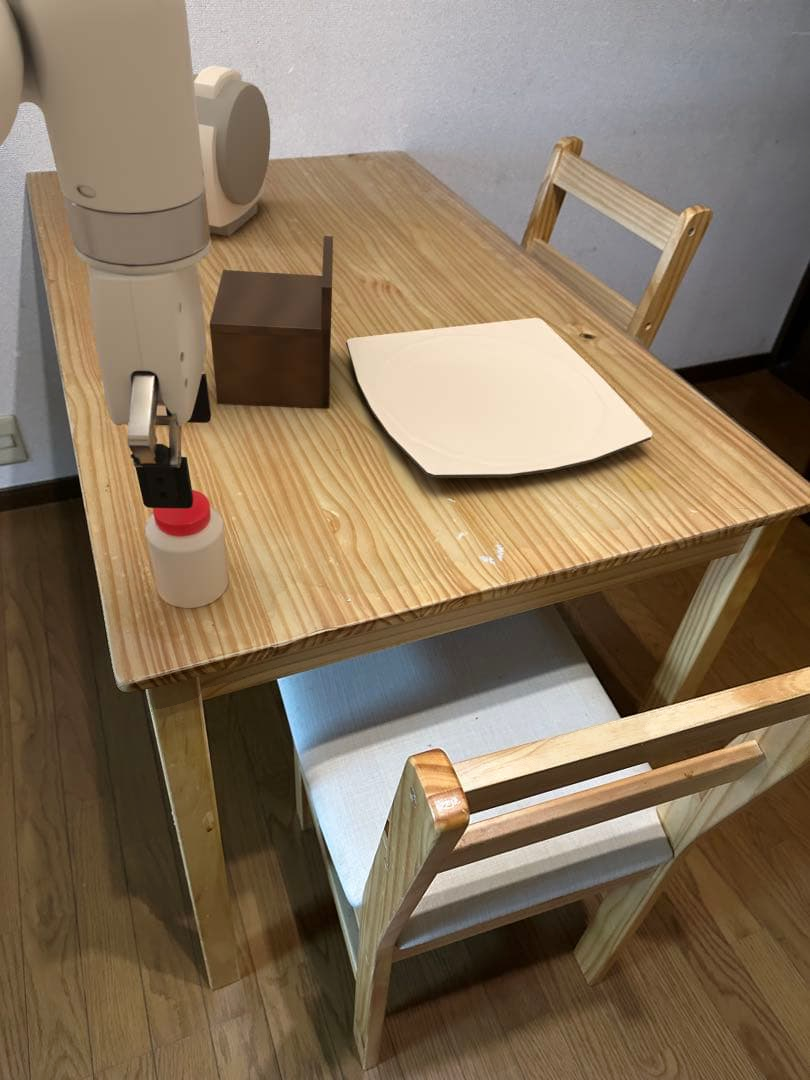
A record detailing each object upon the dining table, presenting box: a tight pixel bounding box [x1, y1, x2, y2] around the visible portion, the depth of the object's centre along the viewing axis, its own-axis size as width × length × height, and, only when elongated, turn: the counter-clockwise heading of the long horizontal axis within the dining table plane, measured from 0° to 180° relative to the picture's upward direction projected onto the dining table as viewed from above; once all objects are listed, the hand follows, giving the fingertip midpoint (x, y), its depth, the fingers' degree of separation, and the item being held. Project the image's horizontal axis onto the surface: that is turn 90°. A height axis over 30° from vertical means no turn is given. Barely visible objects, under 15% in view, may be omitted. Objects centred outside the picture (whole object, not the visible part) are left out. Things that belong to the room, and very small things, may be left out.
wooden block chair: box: [209, 235, 334, 409], centre depth 82 cm, size 12×12×14 cm
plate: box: [345, 317, 654, 479], centre depth 86 cm, size 29×29×3 cm
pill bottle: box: [144, 489, 230, 609], centre depth 61 cm, size 6×6×8 cm
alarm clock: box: [193, 65, 271, 237], centre depth 110 cm, size 18×8×20 cm, turn 164°
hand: (180, 460), depth 55 cm, fingers open, 9 cm apart
